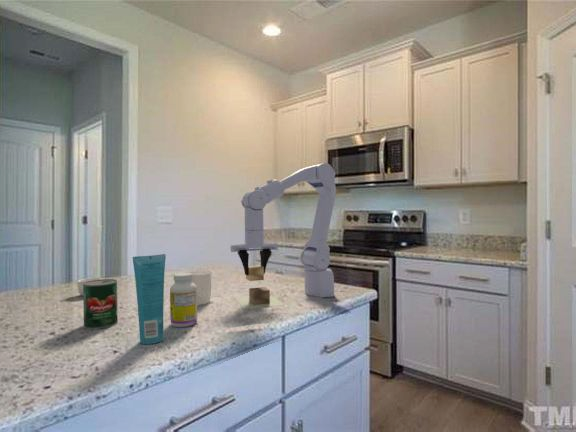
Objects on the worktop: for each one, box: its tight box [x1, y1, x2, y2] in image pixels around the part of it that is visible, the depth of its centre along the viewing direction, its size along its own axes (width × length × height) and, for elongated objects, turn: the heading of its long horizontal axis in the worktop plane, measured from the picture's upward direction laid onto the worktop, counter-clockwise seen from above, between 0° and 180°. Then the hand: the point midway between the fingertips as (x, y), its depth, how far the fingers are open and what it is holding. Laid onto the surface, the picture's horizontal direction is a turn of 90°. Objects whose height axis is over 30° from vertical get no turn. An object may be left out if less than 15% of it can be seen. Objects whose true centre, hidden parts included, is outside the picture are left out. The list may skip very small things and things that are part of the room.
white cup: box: [186, 270, 213, 306], centre depth 114 cm, size 8×8×10 cm
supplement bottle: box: [169, 272, 198, 328], centre depth 95 cm, size 7×7×13 cm
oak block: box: [245, 264, 265, 282], centre depth 115 cm, size 4×4×4 cm
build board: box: [235, 295, 285, 310], centre depth 113 cm, size 12×12×1 cm
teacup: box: [77, 277, 103, 297], centre depth 131 cm, size 10×8×5 cm
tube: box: [132, 253, 167, 345], centre depth 83 cm, size 7×5×19 cm, turn 140°
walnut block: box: [248, 286, 271, 305], centre depth 113 cm, size 5×5×4 cm
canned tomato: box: [82, 278, 119, 330], centre depth 96 cm, size 8×8×11 cm
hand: (254, 274), depth 115 cm, fingers closed on oak block, 4 cm apart
